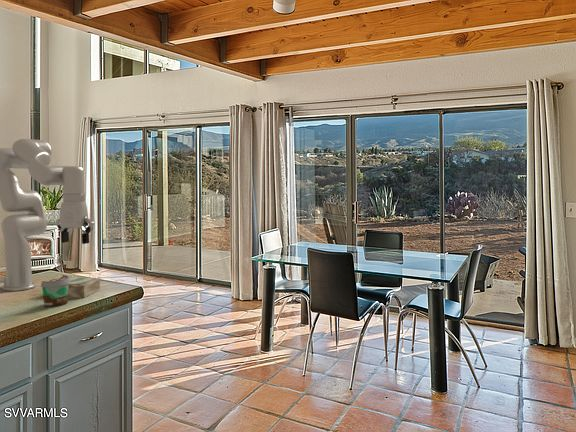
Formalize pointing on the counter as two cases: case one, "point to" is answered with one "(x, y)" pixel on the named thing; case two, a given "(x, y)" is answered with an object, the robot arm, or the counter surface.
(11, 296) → the counter surface
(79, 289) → the birch stand
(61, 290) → the food container
